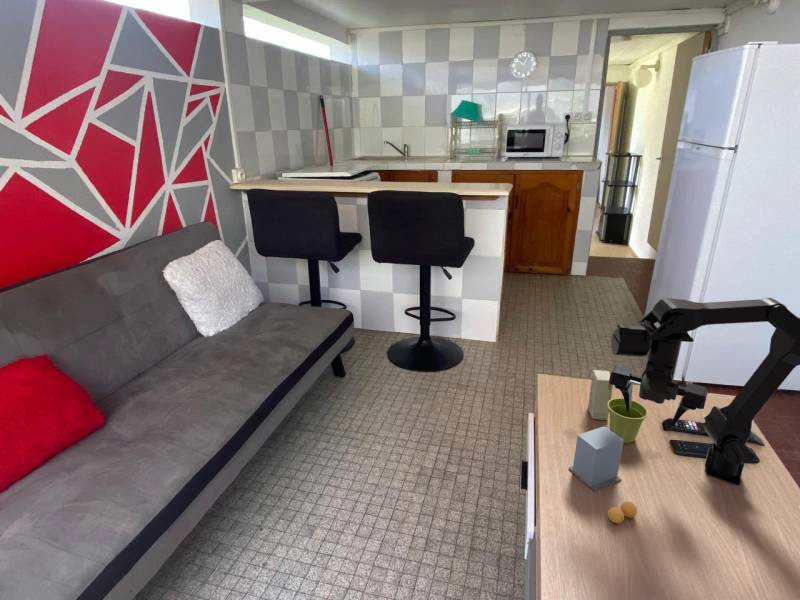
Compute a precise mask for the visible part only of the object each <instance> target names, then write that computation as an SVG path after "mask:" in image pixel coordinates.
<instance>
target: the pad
mask: <svg viewBox="0 0 800 600" xmlns="http://www.w3.org/2000/svg"><path fill="white" fill-rule="evenodd" d="M568 470H569V471H570V472H571V473H572V474H574V476H576V477H577V478H578V479H579V480H580V481H582V482H583V483H584V484H585V485H586V486H588V487H589V489H591V490H592V491H594V492H596V491H599V490H601V489H604V488H607V487H609V486H611V485H614V484H617V483H618V482H621V481H622V478H621V477H620V476H618V475H617V477H614V478H612V479H609V480H607V481H604V482H602V483H599V484H596V485H594V486H591V487H590V486H589V485H588V484H587V483H586V482H585V481H583V480H582V479H581V478H580V477H579V476H578V475H577V474H575V473H574V472H573V465H572V466H570V467H568Z"/></svg>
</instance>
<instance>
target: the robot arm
mask: <svg viewBox="0 0 800 600" xmlns="http://www.w3.org/2000/svg"><path fill="white" fill-rule="evenodd" d="M765 322H767V323H769V324H770V325H771V326H773V327H774V328H775V329H774V330H773V331H774V332H773V334H772V335H771V337H770V346H769V352H768V353H767V355H766V357H765V358H764V359H763V360H762V361H761V363H760V364H759V365H758V367H757V368H756V370H755V371H754V372H753V373H752V375H751V376H750V378H749V379H748V380H747V381H746V383H745V384H744V385H743V387H742V388H741V389H740V390H739V392H738V393H737V395H736V396H735V397H734V398H733V399H732V401H730V404H728V405H726V406H723V407H721V408H720V407H718V406H716V405H715V406H713V407H712V408H711V410H710V412H709V413H708V414H707V415H706V416H705V417H703V419H704V423H703V427H704V428H703V429H704V431H705V432H706V434H707V435H708V436H709V438H710V440H712V442H713V443H712V446H709V447H708V450H707V454H706V457H705V462H704V468H706V470H705V474H706V475H707V476H710V477H713V478H717V479H719V480H722V481H726V482H728V483H731V484H733V485H737V486H740V485H741V480H742V479H741V477H742V474H743V470H744V467H745V463H746V464H751V463H752V462H753V461H754V460H755V458H756V454H754V452H753V451H752V450H751V449H750V448H749V446H748V445H747V442H748V440H749V439H750V437H751V433H752V425H753V420H754V419H755V418H756V416H758V414H759V412H760V411H761V410H762V409H763V407H764V406H765V405H766V404H767V403H768V401H769V400H770V399H771V398H772V396H774V394H775V393H776V391H777V390H778V389H779V388H780V387H781V385H782V384H783V383H784V382H785V381H786V379H787V378H788V376H789V375H790V374H791V373H792V372H793V370H794V369H795V368H796V367H798V366H800V317H798V316H797V315H796V314H794V313H793V312H792V311H791V310H789V309H788V307H787V306H786V305H785V304H783V303H782V302H779V301H778V300H776V299H774V298H773V297H762V298H759V299H743V300H728V301H726V300H725V301H711V302H697V301H695V302H694V301H691V300H686V299H679V298H669V297H668V298H663V299H659V300H658V302H656V304H654V306H653V308H652V310H650V311H649V313H647V314H646V315H645V316H644V317H643V318H642V319H641V320H639V321H638V324H639V325H628V324H624V323H623V324H622V323H618V324H617V325H616V328H615V329H614V330H613V333H612V334H611V339H610V341H611V342H610V344H611V345H610V347H611V352H612V354H613V356H624V357H626V356H627V357H638V358H639V357H643V358H644V356H647V357H646V360H645V361H646V362H645V367H644V370H643V372H642V374H641V375H638V374H634V368H632V367H629V366H626V365H625V366H624V365H620V364H617V365H615V366H614V367H613V369H612V370H611V372H610V378H609V383H610V384H612V385H613V386H614V389H616V390H619V391H620V392H621V394H622V398H624V401H625V405H626V410H627V412H629V411H630V407H631V401H632V400H633V389H634V386H633V385H634V384H636V385H639V393H638V396H639V398H640V399H642V400H645V401H646V400H647V401H650V402H654V403H655V404H659V405H661V404H665V400H666V401H668V402H669V401H671V400H673V401H676V398H677V396H679V397H681V398H680V401H679V403H678V406H677V408H676V410H675V412H674V415H673V418H672V423H671V427H675V425H676V424H677V422H678V421H679V420H680V419H681V417H682V416H684V415H683V414H685V413H686V412H687V411H689V410H691V411H696V410H697V409H698V410H704V408H705V405H706V401H707V397H708V392H709V390H708V388H707V387H706V386H704V385H699V384H697V383H696V384H695V383H691V382H687V384H686V386H685V387H684V386H680V384H679V383H675V382H674V378H675V374H676V369H677V363H678V359H679V355H680V351H681V346H682V342H683V343H684V342H687V343H693V342H694V341H695V340H694V338H693V337H692V336H691V335H690V334H689V332H691V331H695V330H697V329H699V328H701V327H703V326H710V325H713V326H714V325H724V324H725V325H726V324H728V325H729V324H746V323H747V324H748V323H765ZM656 323H657V324H658V325H659V326H658V327H657V326H656V325H655V324H656Z"/></svg>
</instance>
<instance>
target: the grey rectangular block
mask: <svg viewBox="0 0 800 600" xmlns="http://www.w3.org/2000/svg"><path fill="white" fill-rule="evenodd" d="M576 436H577V437H576V442H575V443H576V444H575V452H574V458H573V465H572V466H573V472H574V473H575V474H577V475H578V476H579V477H580V478H581V479H582V480H583V481H585V482H586V483H587V484H588V485H589V486H590V487H591V486H594V485H596V484H599V483H602V482H604V481H607V480H609V479H612V478H614V477H617V476H618V475H619V471H620V470H619V469H620V465H621V457H622V452H623V446H624V444H625V443H624V440H623V439H622V438H620V437H619V436H618V435H616V434H615V433H613V432H612V431H610V428H608V427H606V426H601V427H598V428H595V429H592V430H588V431H586V432H582V433H579V434H577V435H576ZM573 472H572V473H573ZM574 473H573V474H574ZM575 474H574V475H575ZM580 478H579V479H580ZM581 479H580V480H581ZM582 480H581V481H582ZM583 481H582V482H583ZM587 484H586V485H587ZM588 485H587V486H588ZM589 486H588V487H589ZM590 487H589V488H590Z"/></svg>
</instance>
